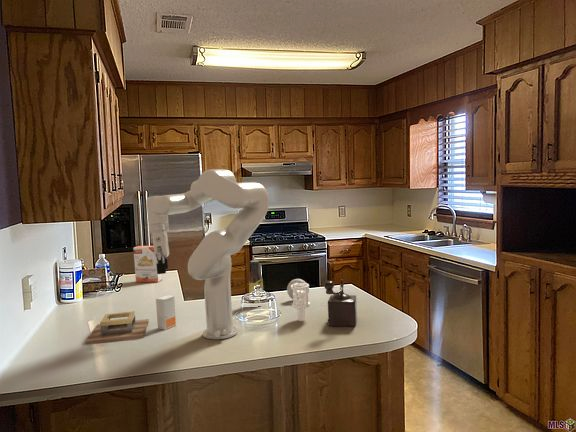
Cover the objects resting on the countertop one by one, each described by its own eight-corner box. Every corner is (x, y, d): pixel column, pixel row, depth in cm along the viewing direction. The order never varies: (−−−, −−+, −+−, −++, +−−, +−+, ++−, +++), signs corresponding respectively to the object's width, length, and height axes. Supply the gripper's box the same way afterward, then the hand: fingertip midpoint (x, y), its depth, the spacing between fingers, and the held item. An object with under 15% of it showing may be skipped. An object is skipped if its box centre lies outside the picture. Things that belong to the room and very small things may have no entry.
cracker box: (135, 283, 272) (132, 247, 270) (140, 280, 278) (137, 245, 276) (158, 282, 269) (155, 246, 268) (162, 280, 275) (159, 245, 273)
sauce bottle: (262, 306, 206) (259, 262, 204) (248, 306, 207) (245, 262, 206) (265, 302, 212) (263, 259, 211) (252, 302, 214) (249, 259, 212)
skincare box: (165, 330, 181) (163, 299, 180) (157, 328, 183) (155, 298, 182) (176, 325, 186) (174, 295, 185) (169, 324, 188) (166, 294, 187)
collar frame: (132, 332, 176) (130, 319, 176) (101, 335, 174) (100, 322, 174) (135, 323, 187) (134, 311, 187) (106, 326, 185) (105, 314, 185)
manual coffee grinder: (329, 318, 184) (327, 273, 183) (357, 318, 182) (355, 272, 181) (324, 331, 169) (322, 282, 168) (355, 331, 167) (353, 282, 166)
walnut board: (143, 337, 173) (143, 334, 173) (85, 344, 169) (85, 340, 169) (148, 321, 193) (148, 319, 193) (97, 327, 189) (97, 324, 189)
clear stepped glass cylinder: (289, 320, 184) (286, 283, 183) (300, 316, 189) (298, 279, 188) (302, 323, 179) (300, 285, 178) (314, 319, 184) (312, 281, 183)
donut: (309, 299, 215) (308, 277, 214) (309, 301, 211) (308, 279, 211) (287, 299, 216) (286, 278, 215) (287, 301, 212) (286, 280, 211)
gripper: (167, 228, 174) (171, 274, 175) (170, 225, 191) (174, 266, 192) (146, 230, 173) (150, 276, 174) (151, 226, 190) (155, 268, 191)
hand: (162, 271), depth 183 cm, fingers open, 9 cm apart
